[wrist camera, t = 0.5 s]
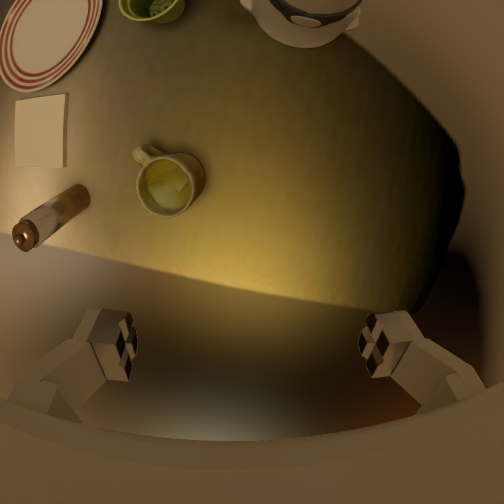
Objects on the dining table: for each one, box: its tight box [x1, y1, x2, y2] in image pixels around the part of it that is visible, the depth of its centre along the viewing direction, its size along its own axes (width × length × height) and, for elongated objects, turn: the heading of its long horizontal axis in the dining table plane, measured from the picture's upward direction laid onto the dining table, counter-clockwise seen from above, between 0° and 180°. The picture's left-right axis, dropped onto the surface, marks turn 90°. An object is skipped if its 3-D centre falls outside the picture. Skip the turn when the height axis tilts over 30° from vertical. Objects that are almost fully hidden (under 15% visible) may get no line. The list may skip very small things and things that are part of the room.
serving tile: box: [15, 94, 69, 168], centre depth 42 cm, size 14×14×1 cm
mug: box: [132, 144, 205, 218], centre depth 43 cm, size 12×10×10 cm
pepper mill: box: [12, 184, 90, 252], centre depth 40 cm, size 5×5×20 cm
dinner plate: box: [0, 0, 103, 92], centre depth 31 cm, size 28×27×3 cm
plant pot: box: [119, 0, 185, 23], centre depth 29 cm, size 9×9×9 cm
